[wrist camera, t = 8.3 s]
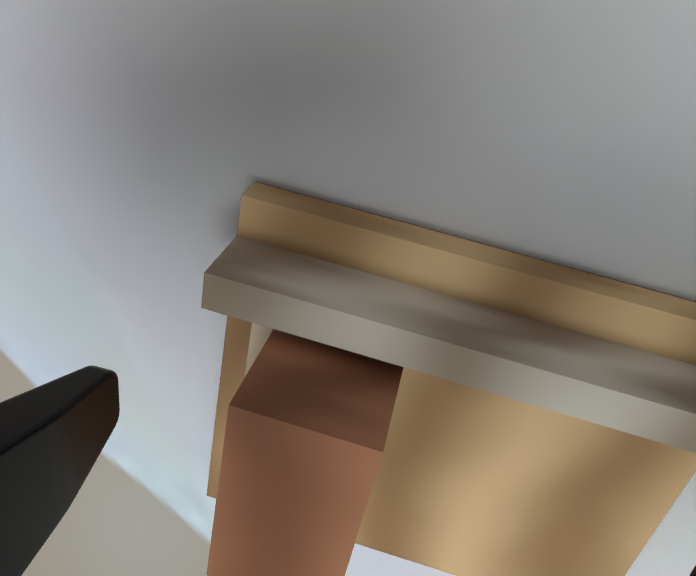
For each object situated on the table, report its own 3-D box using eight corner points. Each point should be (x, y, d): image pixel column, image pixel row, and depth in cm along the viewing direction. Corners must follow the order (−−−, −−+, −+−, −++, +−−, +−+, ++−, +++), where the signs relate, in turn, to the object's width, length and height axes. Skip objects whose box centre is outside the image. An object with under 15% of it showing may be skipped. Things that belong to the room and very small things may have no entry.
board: (767, 321, 19) (819, 400, 16) (590, 592, 26) (602, 684, 23) (254, 181, 20) (208, 227, 17) (217, 474, 27) (179, 545, 24)
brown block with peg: (412, 331, 20) (382, 452, 16) (346, 549, 26) (310, 685, 21) (292, 297, 21) (228, 404, 16) (252, 519, 26) (197, 646, 22)
